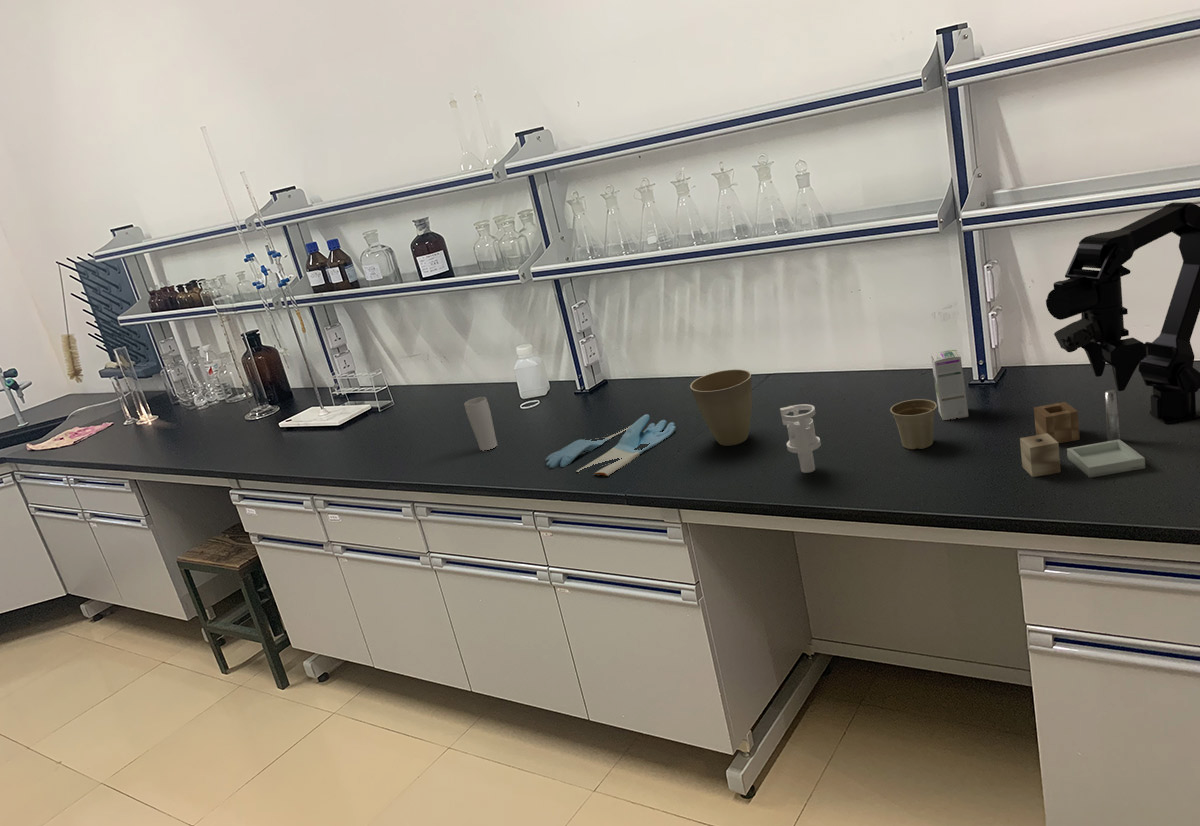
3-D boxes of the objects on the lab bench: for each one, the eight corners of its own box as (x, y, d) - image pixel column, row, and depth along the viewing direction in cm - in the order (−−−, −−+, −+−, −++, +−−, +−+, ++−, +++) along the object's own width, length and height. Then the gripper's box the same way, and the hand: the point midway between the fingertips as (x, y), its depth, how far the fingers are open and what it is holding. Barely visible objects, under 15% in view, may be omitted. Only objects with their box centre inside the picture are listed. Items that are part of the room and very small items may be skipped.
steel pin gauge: (1116, 437, 168) (1114, 389, 165) (1121, 441, 166) (1119, 392, 163) (1105, 439, 168) (1102, 391, 165) (1110, 443, 166) (1107, 394, 163)
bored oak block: (1066, 429, 176) (1064, 401, 175) (1079, 439, 171) (1077, 411, 169) (1036, 434, 177) (1033, 407, 176) (1047, 445, 172) (1045, 417, 170)
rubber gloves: (533, 469, 229) (527, 447, 228) (613, 422, 251) (608, 401, 249) (608, 479, 210) (602, 455, 208) (687, 428, 232) (683, 405, 230)
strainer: (789, 467, 191) (777, 403, 187) (820, 460, 190) (810, 396, 186) (794, 479, 184) (783, 414, 180) (828, 472, 184) (816, 406, 179)
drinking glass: (504, 443, 255) (491, 395, 250) (492, 452, 249) (478, 404, 244) (485, 444, 258) (471, 397, 253) (473, 453, 252) (459, 406, 248)
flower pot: (948, 437, 186) (944, 399, 184) (930, 454, 180) (925, 416, 177) (906, 434, 193) (901, 398, 190) (887, 451, 187) (882, 414, 184)
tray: (1120, 449, 163) (1119, 439, 163) (1145, 468, 154) (1144, 458, 154) (1067, 458, 165) (1066, 448, 164) (1089, 477, 156) (1088, 467, 155)
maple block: (1049, 462, 165) (1047, 432, 163) (1060, 472, 160) (1058, 442, 158) (1022, 466, 166) (1019, 437, 164) (1032, 477, 161) (1029, 447, 159)
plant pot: (705, 433, 223) (693, 375, 218) (763, 424, 219) (752, 365, 214) (700, 456, 209) (687, 394, 204) (761, 447, 205) (749, 384, 201)
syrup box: (969, 417, 194) (962, 355, 189) (941, 421, 195) (934, 360, 191) (964, 408, 199) (957, 348, 194) (937, 412, 200) (930, 353, 196)
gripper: (1038, 302, 169) (1045, 377, 174) (1079, 325, 152) (1085, 407, 156) (1099, 290, 167) (1104, 366, 172) (1147, 311, 150) (1151, 395, 155)
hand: (1109, 383), depth 164 cm, fingers open, 9 cm apart
